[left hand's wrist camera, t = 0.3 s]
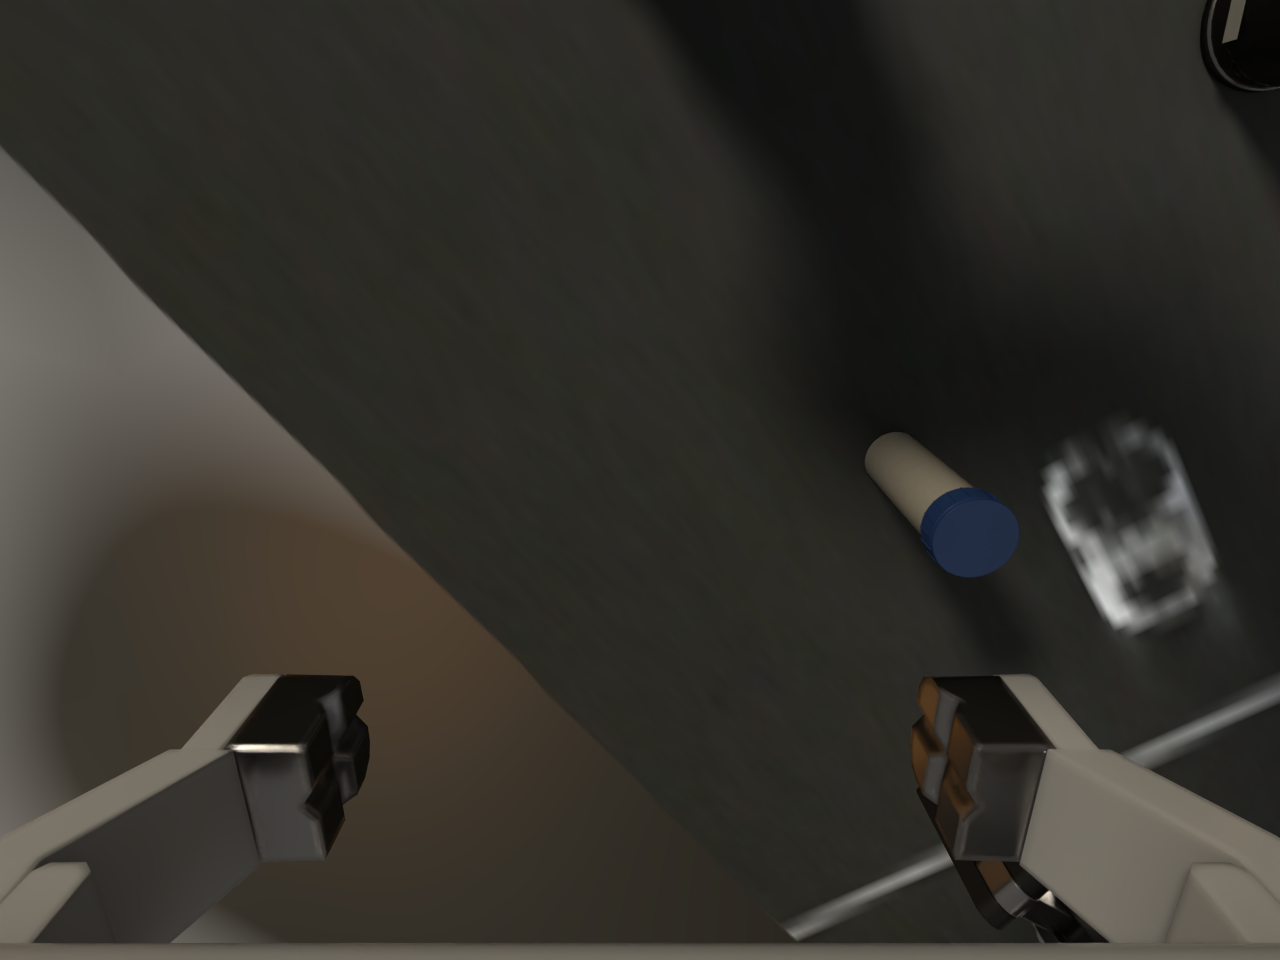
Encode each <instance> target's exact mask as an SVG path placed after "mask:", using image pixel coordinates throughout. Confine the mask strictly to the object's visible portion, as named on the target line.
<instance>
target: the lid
mask: <svg viewBox="0 0 1280 960" xmlns="http://www.w3.org/2000/svg"><path fill="white" fill-rule="evenodd" d="M920 534H921V539H920V540H921V541H922V542H923V544H924V546H925V548H926V549H927V550H926V551H927V553H928V554H929V555H930V556H931V557H932V558H933V560H934V561H935V562H938V564H939V565H940V566H941V567H942V568H943V569H944V570H946V571H947V572H949V573H951V574H953V575H956V576H960V577H970V578H971V577H979V576H983V575H986V574H989V573H991V572H993V571H995V570H997V569H998V568H1000V567H1001V566H1002V565H1003V564H1004V563H1006V562H1007V560H1008V559H1009V558H1010V557H1011V556H1012V554H1013V553H1014V551H1015V549H1016V546H1017V544H1018V540H1019V525H1018V522H1017V519H1016V517H1015V516H1014V514H1013V513H1012V512H1011V510H1010V509H1009V508H1008V507H1007V506H1005V505H1004V504H1003V503H1002V501H1000V500H999V499H998V498H997V497H995V496H994V495H993V494H992V493H990V492H986V491H984V490H981V489H978V488H977V487H975V488H972V487H965V488H962V487H960V488H958V489H954V490H951V491H949V492H946V493H944V494H943V495H941V496H940V497H938V498H937V499H936V500H935V501H933V503H932V504H931V505H930V506H929V507H928V509H927V510H926V512H925V513H924V516H923V519H922V522H921V526H920Z"/></svg>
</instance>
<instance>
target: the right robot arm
mask: <svg viewBox="0 0 1280 960" xmlns="http://www.w3.org/2000/svg"><path fill="white" fill-rule="evenodd" d="M1201 47H1202V52H1203V56H1204V59H1205V61H1206V64H1207V66H1208V68H1209V69H1210V71H1211V72H1212V74H1213V75H1214V76H1215V77H1216V78H1217V79H1218V80H1219V81H1220V82H1221V83H1223V84H1224V85H1226V86H1227V87H1230V88H1232V89H1234V90H1238V91H1242V92H1251V93H1252V92H1263V91H1269V90H1274V89H1278V88H1280V0H1207V2H1206V5H1205V9H1204V12H1203V17H1202V22H1201ZM917 794H918V796H919V798H920V800H921V802H922V804H923V806H924V807H925V809H926V811H927V813H928V815H929V817H930V819H931V821H932V823H933V825H934V827H935V829H936V831H937V833H938V834H939V836H940V838H941V840H942V842H943V844H944V846H945V848H946V850H947V852H948V854H949V856H950V858H951V860H952V861H953V863H954V865H955V867H956V869H957V871H958V873H959V875H960V877H961V879H962V881H963V883H964V885H965V887H966V888H967V890H968V892H969V894H970V896H971V898H972V900H973V902H974V904H975V906H976V908H977V909H978V911H979V912H980V914H981V915H982V916H983V918H984V919H985V920H986V921H987V922H988V923H989V924H990V925H992V926H993V927H994V928H996V929H998V930H1003V929H1004V928H1005V927H1006V926H1007V925H1009V924H1010V923H1011V922H1012V921H1013V920H1015V919H1016V918H1018V917H1022V918H1024V919H1025V920H1027V921H1029V922H1031V923H1032V924H1033V925H1034V927H1035V929H1036V933H1037V938H1038V940H1039V942H1040V943H1110V942H1109V941H1107V940H1106V939H1105V938H1104V937H1103V936H1102V935H1100V934H1099V933H1098V932H1097V931H1096V930H1095V929H1093V928H1092V927H1091V926H1090V925H1089V924H1088V923H1086V922H1085V921H1084V920H1083V919H1082V918H1081V917H1080V916H1078V915H1077V914H1076V913H1075V912H1074V911H1073V910H1071V909H1070V908H1069V907H1068V906H1067V905H1066V904H1064V903H1063V902H1062V901H1061V900H1060V899H1059V898H1057V897H1056V896H1055V895H1054V894H1053V893H1052V892H1050V891H1049V890H1048V889H1047V888H1046V887H1045V886H1043V885H1042V884H1041V883H1040V882H1039V881H1038V880H1037V879H1035V878H1034V877H1033V876H1032V875H1031V874H1030V873H1028V872H1027V871H1026V870H1025V869H1024V868H1023V867H1021V866H1020V862H1011V861H975V860H955V859H954V857H953V855H952V853H951V851H950V849H949V847H948V845H947V843H946V841H945V839H944V837H943V835H942V833H941V831H940V829H939V827H938V825H937V823H936V821H935V816H936V810H937V805H936V804H935V803H934V802H932V801H931V800H930V799H928V798H927V797H925V796H924V795H923V794H922V792H921V790H920V788H918V789H917Z"/></svg>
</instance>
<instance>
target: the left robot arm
mask: <svg viewBox="0 0 1280 960" xmlns="http://www.w3.org/2000/svg"><path fill="white" fill-rule="evenodd" d="M363 701H364V700H363V695H362V690H361V685H360V681H359V680H358V679H357V678H356V677H354V676H339V675H292V674H287V675H282V674H252V675H249V676H246V677H244V678H242V679H241V681H240V682H239V683H238V684H237V685H236V686H235V688H234V689H233V690H232V691H231V692H230V693H229V694H228V696H227V697H226V698H225V699H224V700H223V701H222V703H221V704H220V705H219V706H218V707H217V708H216V710H215V711H214V712H213V713H212V714H211V715H210V716H209V718H208V719H207V720H206V721H205V722H204V723H203V725H202V726H201V727H200V728H199V729H198V730H197V731H196V733H195V734H194V735H193V736H192V737H191V738H190V740H189V741H188V742H187V743H186V744H185V745H184V747H183V748H182V749H181V750H168V751H166V752H164V753H162V754H160V755H158V756H156V757H154V758H152V759H151V760H149V761H147V762H145V763H143V764H141V765H139V766H137V767H135V768H133V769H131V770H129V771H127V772H125V773H124V774H122V775H120V776H118V777H116V778H114V779H112V780H110V781H108V782H106V783H104V784H102V785H100V786H98V787H97V788H95V789H93V790H91V791H89V792H87V793H85V794H83V795H81V796H79V797H77V798H75V799H73V800H71V801H70V802H68V803H66V804H64V805H62V806H60V807H58V808H56V809H54V810H52V811H50V812H48V813H46V814H45V815H43V816H41V817H39V818H37V819H35V820H33V821H31V822H29V823H27V824H25V825H23V826H21V827H19V828H17V829H15V830H14V831H12V832H10V833H8V834H6V835H4V836H2V837H0V960H1280V838H1279V837H1278V836H1276V835H1274V834H1272V833H1270V832H1268V831H1266V830H1264V829H1262V828H1260V827H1258V826H1256V825H1254V824H1253V823H1251V822H1249V821H1247V820H1245V819H1243V818H1241V817H1239V816H1237V815H1235V814H1233V813H1231V812H1229V811H1228V810H1226V809H1224V808H1222V807H1220V806H1218V805H1216V804H1214V803H1212V802H1210V801H1208V800H1206V799H1204V798H1203V797H1201V796H1199V795H1197V794H1195V793H1193V792H1191V791H1189V790H1187V789H1185V788H1183V787H1181V786H1179V785H1178V784H1176V783H1174V782H1172V781H1170V780H1168V779H1166V778H1164V777H1162V776H1160V775H1158V774H1156V773H1154V772H1153V771H1151V770H1149V769H1147V768H1145V767H1143V766H1141V765H1139V764H1137V763H1135V762H1133V761H1131V760H1129V759H1128V758H1126V757H1124V756H1122V755H1120V754H1118V753H1116V752H1114V751H1112V750H1099V749H1098V748H1097V747H1096V745H1095V744H1094V743H1093V742H1092V741H1091V740H1090V738H1089V737H1088V736H1087V735H1086V734H1085V733H1084V732H1083V730H1082V729H1081V728H1080V727H1079V726H1078V725H1077V723H1076V722H1075V721H1074V720H1073V719H1072V718H1071V716H1070V715H1069V714H1068V713H1067V712H1066V711H1065V710H1064V708H1063V707H1062V706H1061V705H1060V704H1059V703H1058V701H1057V700H1056V699H1055V698H1054V697H1053V696H1052V695H1051V693H1050V692H1049V691H1048V690H1047V689H1046V688H1045V686H1044V685H1043V684H1042V683H1041V682H1040V681H1039V679H1038V678H1036V677H1034V676H1032V675H1030V674H1006V675H993V676H933V677H923V679H922V681H921V683H920V685H919V689H918V694H917V700H916V701H917V703H918V704H919V706H920V708H921V710H922V712H923V713H924V715H923V716H922V717H921V718H920V719H919V720H918V721H917V722H916V723H915V724H914V725H913V726H912V733H911V741H910V752H911V763H912V768H913V772H914V775H915V779H916V781H917V784H918V786H919V788H920V790H921V792H922V794H923V795H924V796H925V797H927V798H928V799H930V800H931V801H932V802H934V803H935V804H936V805H937V810H936V816H935V821H936V823H937V825H938V827H939V829H940V831H941V833H942V835H943V837H944V839H945V841H946V843H947V845H948V847H949V849H950V851H951V853H952V855H953V857H954V859H955V860H975V861H1011V862H1020V866H1021V867H1023V868H1024V869H1025V870H1026V871H1027V872H1028V873H1030V874H1031V875H1032V876H1033V877H1034V878H1035V879H1037V880H1038V881H1039V882H1040V883H1041V884H1042V885H1043V886H1045V887H1046V888H1047V889H1048V890H1049V891H1050V892H1052V893H1053V894H1054V895H1055V896H1056V897H1057V898H1059V899H1060V900H1061V901H1062V902H1063V903H1064V904H1066V905H1067V906H1068V907H1069V908H1070V909H1071V910H1073V911H1074V912H1075V913H1076V914H1077V915H1078V916H1080V917H1081V918H1082V919H1083V920H1084V921H1085V922H1086V923H1088V924H1089V925H1090V926H1091V927H1092V928H1093V929H1095V930H1096V931H1097V932H1098V933H1099V934H1100V935H1102V936H1103V937H1104V938H1105V939H1106V940H1107V941H1109V942H1110V943H170V942H172V941H173V940H174V939H175V938H176V937H177V936H178V935H180V934H181V933H182V932H183V931H184V930H186V929H187V928H188V927H189V926H190V925H191V924H193V923H194V922H195V921H196V920H197V919H198V918H200V917H201V916H202V915H203V914H204V913H205V912H207V911H208V910H209V909H210V908H211V907H212V906H214V905H215V904H216V903H217V902H218V901H219V900H220V899H222V898H223V897H224V896H225V895H226V894H227V893H229V892H230V891H231V890H232V889H233V888H234V887H236V886H237V885H238V884H239V883H240V882H241V881H243V880H244V879H245V878H246V877H247V876H248V875H250V874H251V873H252V872H253V871H254V870H255V869H257V868H258V867H259V866H260V862H269V861H302V860H325V859H326V858H327V856H328V853H329V851H330V849H331V847H332V845H333V843H334V841H335V839H336V837H337V835H338V833H339V831H340V829H341V827H342V825H343V823H344V821H345V816H344V810H343V805H344V804H345V803H346V802H348V801H349V800H350V799H352V798H353V797H355V796H356V795H357V794H358V792H359V790H360V788H361V786H362V783H363V781H364V779H365V776H366V771H367V766H368V762H369V757H370V739H369V732H368V726H367V725H366V724H365V723H364V722H363V721H362V720H361V719H360V718H359V717H358V716H357V715H356V713H357V712H358V710H359V708H360V706H361V704H362V702H363Z"/></svg>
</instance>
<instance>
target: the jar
mask: <svg viewBox="0 0 1280 960" xmlns="http://www.w3.org/2000/svg"><path fill="white" fill-rule="evenodd" d="M865 468H866V471H867V473H868V475H869V477H870V478H871V479H872V480H873V481H874V482H875V483H876V485H877V486H878V487H879V488H880V489H881V490H882V492H883V493H884V494H885V495H886V496H887V497H888V498H889V500H890V501H891V502H892V503H893V504H894V505H895V506H896V508H897V509H898V510H899V511H900V512H901V513H902V514H903V516H904V517H905V518H906V519H907V520H908V521H909V523H910V524H911V525H912V526H913V527H914V528H915V529H916V531H917V532H918V533H919V534H920V526H921V522H922V519H923V516H924V513H925V512H926V510H927V509H928V507H929V506H930V505H931V504H932V503H933V501H935V500H936V499H937V498H938V497H940V496H941V495H943V494H944V493H946V492H949V491H951V490H954V489H958V488H960V487H962V488H965V487H972V488H975V487H973V486H972V485H971V484H970V483H969V482H967V481H966V480H965V479H964V478H962V477H961V476H960V475H959V474H958V473H956V472H955V471H954V470H953V469H952V468H950V467H949V466H948V465H947V464H945V463H944V462H943V461H942V460H941V459H939V458H938V457H937V456H936V455H934V454H933V453H932V452H931V451H930V450H928V449H927V448H926V447H925V446H923V445H922V444H921V443H920V442H919V441H917V440H916V439H915V438H914V437H912V436H911V435H909V434H906V433H903V432H891V433H887V434H885V435H883V436H881V437H879V438H878V439H876V440H875V441H874V442H873V443H872V444H871V446H870V447H869V449H868V451H867V453H866V456H865ZM920 535H921V534H920Z"/></svg>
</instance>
